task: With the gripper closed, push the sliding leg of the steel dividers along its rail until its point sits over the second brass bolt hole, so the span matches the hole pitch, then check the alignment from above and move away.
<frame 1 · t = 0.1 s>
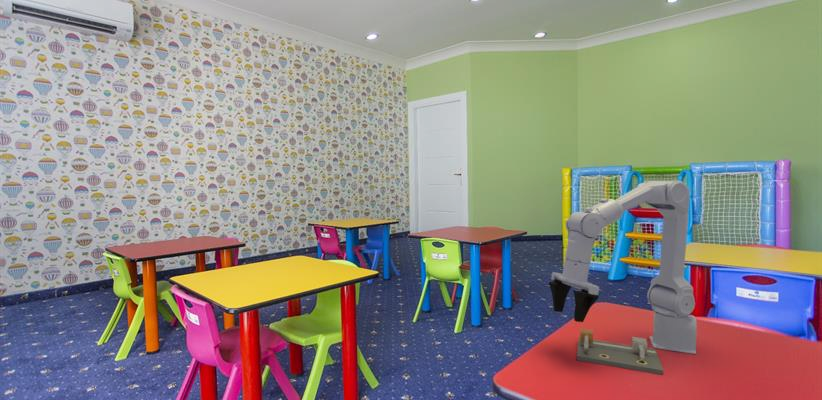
hand: (567, 316, 100), 10 cm above the table, tool pointing down, fingers open, 7 cm apart
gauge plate: (616, 356, 102), on the table
sliding leg: (586, 340, 104), point 3 cm above the table, slide at 4.0 cm
fixed leg: (639, 356, 102), resting on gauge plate
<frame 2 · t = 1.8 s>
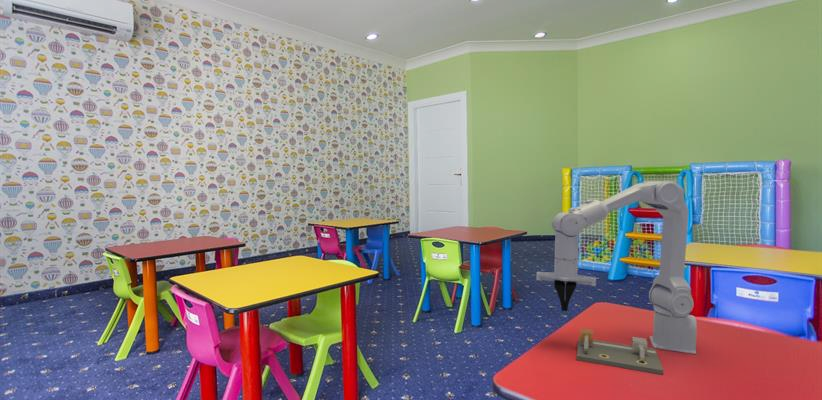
hand: (564, 309, 108), 9 cm above the table, tool pointing down, fingers closed
nothing on the table moved.
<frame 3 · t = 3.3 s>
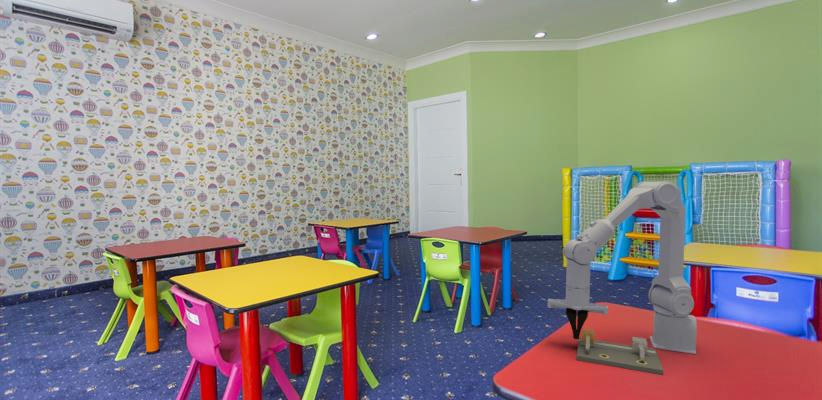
hand: (576, 337, 107), 2 cm above the table, tool pointing down, fingers closed
sliding leg: (587, 340, 104), point 3 cm above the table, slide at 3.7 cm, touching gripper
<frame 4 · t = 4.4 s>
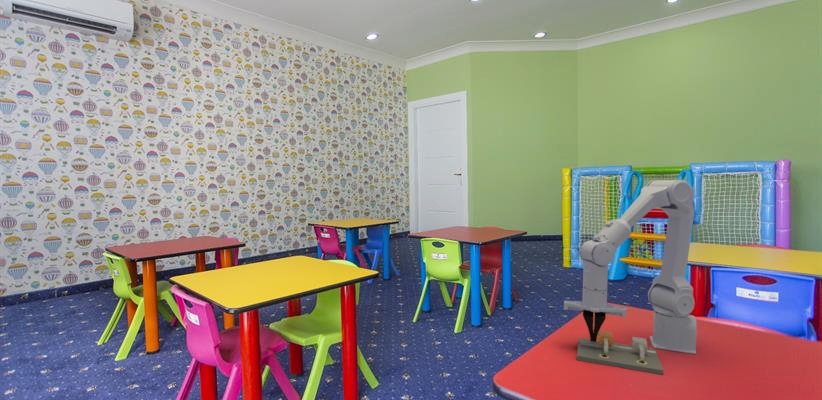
hand: (593, 340, 106), 2 cm above the table, tool pointing down, fingers closed
sliding leg: (605, 343, 102), point 3 cm above the table, slide at -0.4 cm, touching gripper
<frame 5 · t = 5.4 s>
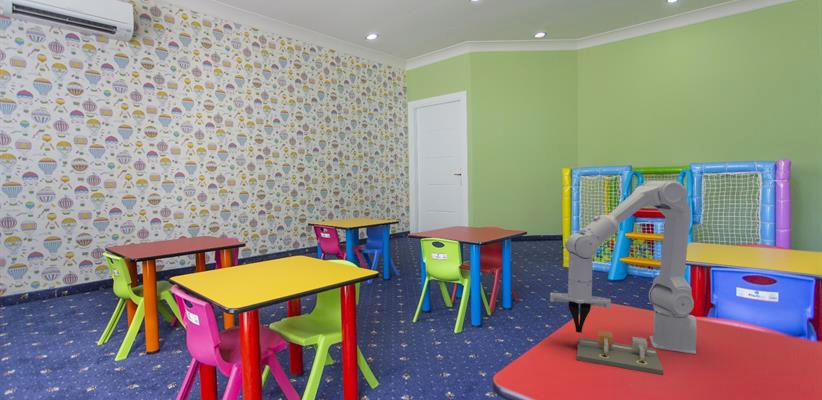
hand: (578, 331, 108), 4 cm above the table, tool pointing down, fingers closed
sliding leg: (605, 343, 102), point 3 cm above the table, slide at -0.4 cm
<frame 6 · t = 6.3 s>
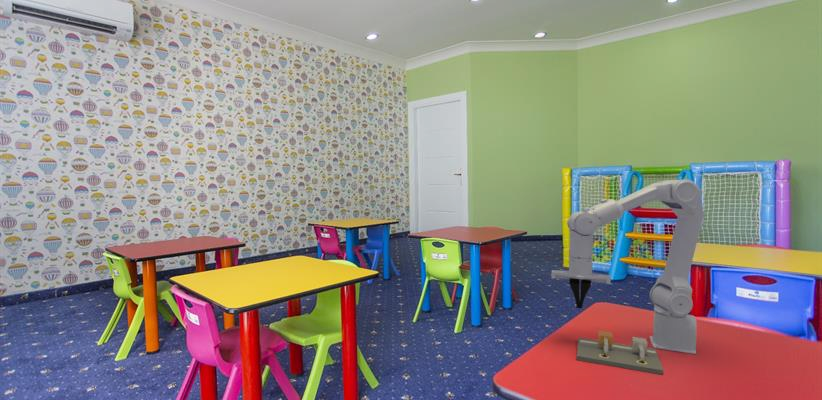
hand: (579, 307, 110), 9 cm above the table, tool pointing down, fingers closed
nothing on the table moved.
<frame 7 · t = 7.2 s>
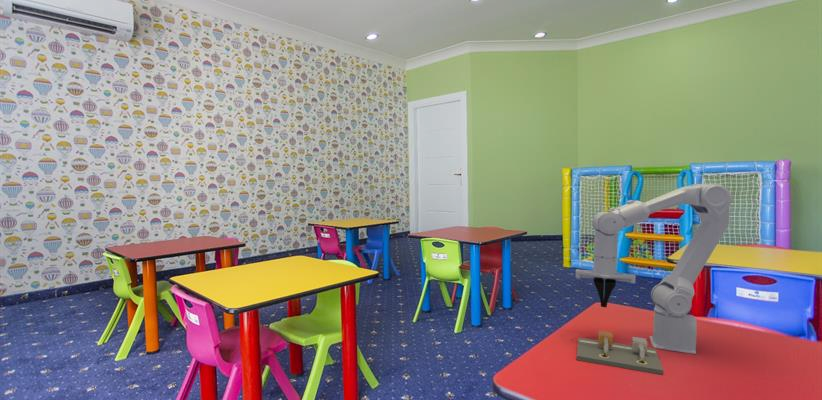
hand: (603, 306, 112), 9 cm above the table, tool pointing down, fingers closed
nothing on the table moved.
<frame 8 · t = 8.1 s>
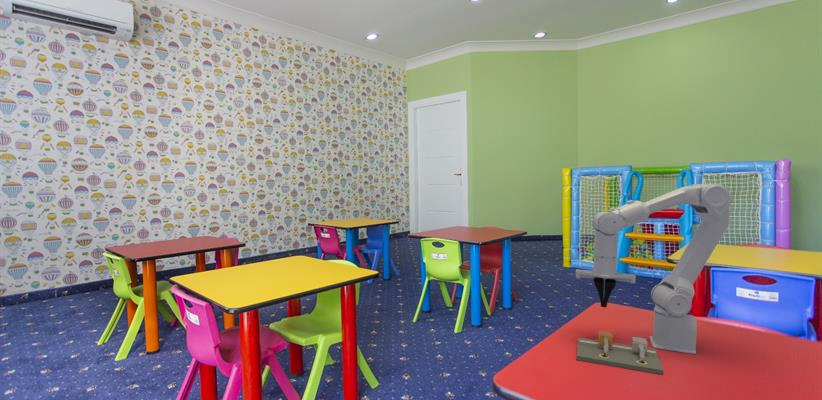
hand: (603, 306, 112), 9 cm above the table, tool pointing down, fingers closed
nothing on the table moved.
at the end: sliding leg slide at -0.4 cm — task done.
